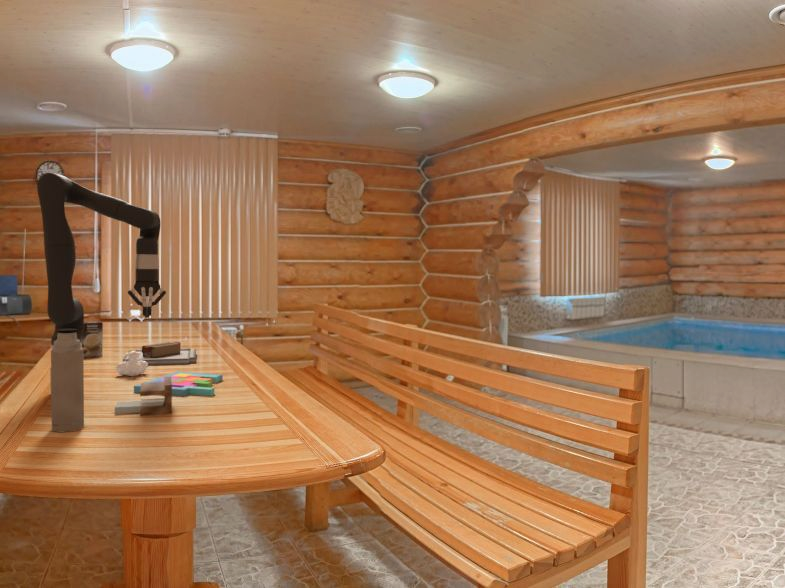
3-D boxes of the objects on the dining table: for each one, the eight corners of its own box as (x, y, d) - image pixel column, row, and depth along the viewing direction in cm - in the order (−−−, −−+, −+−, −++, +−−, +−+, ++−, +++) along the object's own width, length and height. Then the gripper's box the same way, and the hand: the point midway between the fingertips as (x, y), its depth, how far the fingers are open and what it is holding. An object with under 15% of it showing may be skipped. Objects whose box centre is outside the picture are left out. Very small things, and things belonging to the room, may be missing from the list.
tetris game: (133, 393, 214) (206, 399, 208) (133, 385, 214) (206, 391, 208) (177, 378, 241) (242, 383, 236) (177, 371, 241) (242, 375, 236)
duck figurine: (116, 382, 239) (119, 362, 233) (113, 368, 244) (116, 348, 237) (148, 379, 246) (152, 360, 240) (144, 365, 250) (148, 346, 244)
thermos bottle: (46, 428, 169) (45, 328, 167) (76, 422, 175) (75, 326, 173) (58, 434, 164) (57, 331, 162) (89, 428, 170) (88, 329, 168)
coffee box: (81, 357, 278) (81, 323, 277) (78, 355, 283) (78, 321, 282) (103, 356, 284) (102, 322, 283) (99, 354, 289) (99, 320, 288)
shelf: (140, 415, 184) (140, 386, 183) (141, 405, 196) (141, 377, 195) (171, 413, 187) (171, 384, 187) (170, 403, 199) (170, 376, 199)
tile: (114, 415, 185) (114, 407, 185) (117, 409, 192) (117, 401, 192) (163, 412, 190) (163, 404, 190) (164, 407, 196) (164, 399, 196)
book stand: (130, 356, 290) (130, 340, 289) (195, 354, 299) (196, 339, 298) (122, 367, 261) (122, 350, 261) (195, 365, 270) (195, 348, 270)
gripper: (125, 267, 203) (125, 318, 204) (167, 268, 208) (167, 318, 209) (126, 267, 210) (126, 316, 211) (167, 267, 215) (167, 316, 216)
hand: (147, 317), depth 210 cm, fingers closed
